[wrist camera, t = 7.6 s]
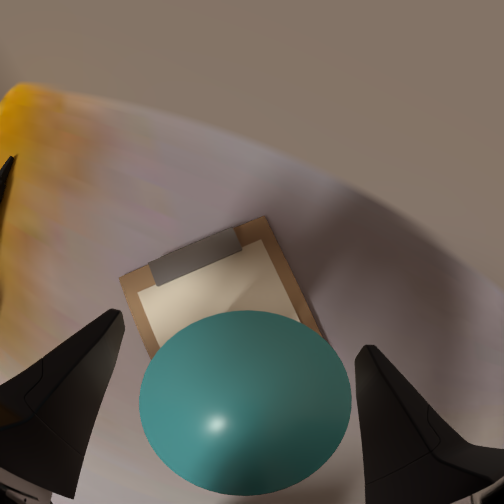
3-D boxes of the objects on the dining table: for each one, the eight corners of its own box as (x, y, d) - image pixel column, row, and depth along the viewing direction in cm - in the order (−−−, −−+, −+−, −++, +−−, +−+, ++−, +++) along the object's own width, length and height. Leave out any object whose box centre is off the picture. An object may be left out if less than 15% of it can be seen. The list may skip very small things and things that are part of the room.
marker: (275, 338, 17) (386, 384, 4) (238, 383, 16) (264, 517, 3) (228, 302, 17) (228, 263, 5) (191, 347, 16) (103, 418, 4)
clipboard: (344, 391, 17) (351, 394, 16) (206, 455, 15) (205, 462, 14) (263, 217, 19) (265, 211, 18) (120, 278, 17) (115, 276, 16)
